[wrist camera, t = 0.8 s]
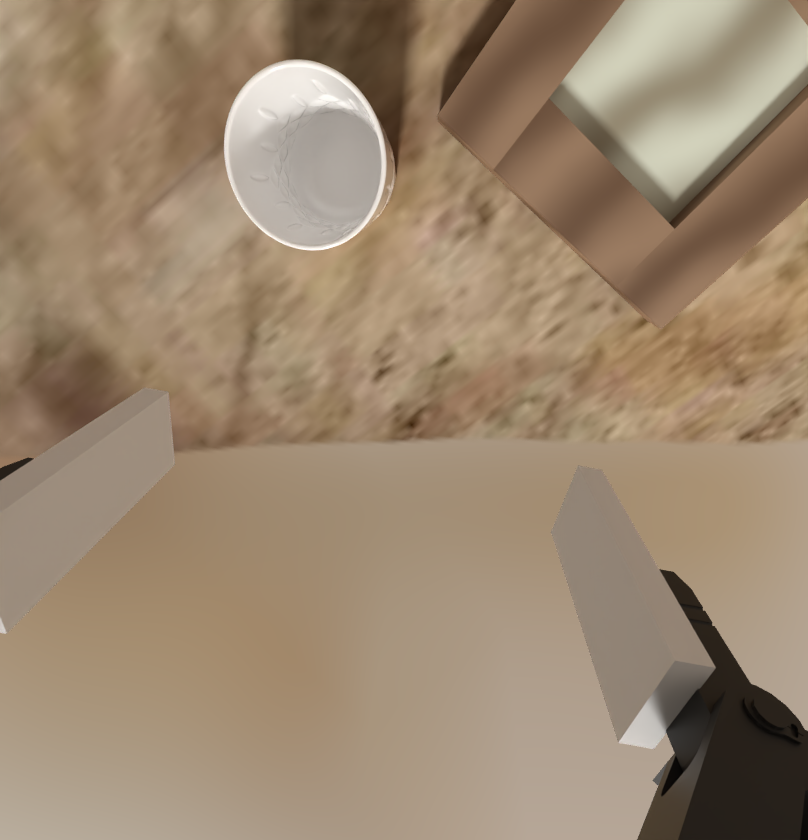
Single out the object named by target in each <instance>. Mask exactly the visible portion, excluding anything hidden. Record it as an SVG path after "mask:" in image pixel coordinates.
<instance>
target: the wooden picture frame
mask: <svg viewBox="0 0 808 840" xmlns="http://www.w3.org/2000/svg"><path fill="white" fill-rule="evenodd" d="M437 116H438V122H439V123H440V124H441V125H442V126H443V127H444V128H445V129H447V130H448V131H449V132H450V133H451V134H452V135H453V136H454V137H455V138H456V139H457V140H458V141H459V142H460V143H461V144H462V145H463V146H464V147H465V148H466V149H468V150H469V151H470V152H471V153H472V154H473V155H474V156H475V157H476V158H477V159H478V160H479V161H480V162H481V163H482V164H483V165H484V166H485V167H486V168H487V169H489V170H490V171H491V172H492V173H493V174H494V175H495V176H496V177H497V178H498V179H499V180H500V181H501V182H502V183H503V184H504V185H505V186H506V187H507V188H508V189H509V190H511V191H512V192H513V193H514V194H515V195H516V196H517V197H518V198H519V199H520V200H521V201H522V202H523V203H524V204H525V205H526V206H527V207H528V208H529V209H530V210H532V211H533V212H534V213H535V214H536V215H537V216H538V217H539V218H540V219H541V220H542V221H543V222H544V223H545V224H546V225H547V226H548V227H549V228H550V229H551V230H552V231H554V232H555V233H556V234H557V235H558V236H559V237H560V238H561V239H562V240H563V241H564V242H565V243H566V244H567V245H568V246H569V247H570V248H571V249H572V250H573V251H575V252H576V253H577V254H578V255H579V256H580V257H581V258H582V259H583V260H584V261H585V262H586V263H587V264H588V265H589V266H590V267H591V268H592V269H593V270H594V271H595V272H597V273H598V274H599V275H600V276H601V277H602V278H603V279H604V280H605V281H606V282H607V283H608V284H609V285H610V286H611V287H612V288H613V289H614V290H615V291H616V292H618V293H619V294H620V295H621V296H622V297H623V298H624V299H625V300H626V301H627V302H628V303H629V304H630V305H631V306H632V307H633V308H634V309H635V310H636V311H637V312H638V313H640V314H641V315H642V316H643V317H644V318H645V319H646V320H647V321H648V322H650V323H652V324H653V325H655V326H656V327H658V328H660V329H662V328H663V327H664V326H665V325H667V324H668V323H669V322H670V321H671V320H672V319H673V318H674V317H675V316H677V315H678V314H679V313H680V312H681V311H682V310H683V309H684V308H686V307H687V306H688V305H689V304H690V303H691V302H692V301H693V300H694V299H696V298H697V297H698V296H699V295H700V294H701V293H702V292H703V291H705V290H706V289H707V288H708V287H709V286H710V285H711V284H712V283H713V282H715V281H716V280H717V279H718V278H719V277H720V276H721V275H722V274H724V273H725V272H726V271H727V270H728V269H729V268H730V267H731V266H732V265H734V264H735V263H736V262H737V261H738V260H739V259H740V258H741V257H743V256H744V255H745V254H746V253H747V252H748V251H749V250H750V249H751V248H753V247H754V246H755V245H756V244H757V243H758V242H759V241H760V240H761V239H763V238H764V237H765V236H766V235H767V234H768V233H769V232H770V231H772V230H773V229H774V228H775V227H776V226H777V225H778V224H779V223H780V222H782V221H783V220H784V219H785V218H786V217H787V216H788V215H789V214H791V213H792V212H793V211H794V210H795V209H796V208H797V207H798V206H799V205H801V204H802V203H803V202H804V201H805V200H806V199H807V198H808V0H516V1H515V2H514V4H513V5H512V7H511V8H510V10H509V11H508V13H507V14H506V16H505V17H504V18H503V20H502V21H501V23H500V24H499V26H498V27H497V29H496V30H495V32H494V33H493V35H492V36H491V38H490V39H489V40H488V42H487V43H486V45H485V46H484V48H483V49H482V51H481V52H480V54H479V55H478V57H477V58H476V59H475V61H474V62H473V64H472V65H471V67H470V68H469V70H468V71H467V73H466V74H465V76H464V77H463V79H462V80H461V81H460V83H459V84H458V86H457V87H456V89H455V90H454V92H453V93H452V95H451V96H450V98H449V99H448V101H447V102H446V103H445V105H444V106H443V108H442V109H441V111H440V112H439V114H438V115H437Z"/></svg>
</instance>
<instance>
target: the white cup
mask: <svg viewBox="0 0 808 840" xmlns="http://www.w3.org/2000/svg"><path fill="white" fill-rule="evenodd" d="M224 156H225V164H226V169H227V174H228V177H229V181H230V184H231V186H232V189H233V191H234V194H235V196H236V198H237V200H238V202H239V203H240V205H241V207H242V208H243V210H244V211H245V213H246V214H247V215H248V216H249V218H250V219H251V220H252V221H253V222H254V223H255V224H256V225H257V226H258V227H259V228H260V229H261V230H262V231H263V232H265V233H266V234H267V235H269V236H270V237H272V238H273V239H275V240H277V241H278V242H280V243H283V244H285V245H287V246H290V247H294V248H297V249H303V250H323V249H328V248H332V247H335V246H338V245H340V244H342V243H344V242H346V241H348V240H349V239H351V238H352V237H354V236H355V235H356V234H358V233H359V232H361V231H362V230H364V229H365V228H366V227H368V226H369V225H370V224H371V223H372V222H373V221H374V220H375V219H376V218H377V217H378V216H379V215H380V214H381V213H382V211H383V210H384V208H385V206H386V205H387V204H388V203H389V201H390V199H391V195H392V191H393V187H394V184H395V180H396V171H395V163H394V156H393V151H392V148H391V145H390V142H389V140H388V138H387V135H386V133H385V130H384V128H383V126H382V124H381V123H380V121H379V119H378V118H377V116H376V114H375V112H374V111H373V109H372V107H371V105H370V104H369V102H368V101H367V99H366V98H365V96H364V95H363V94H362V92H361V91H360V90H359V89H358V88H357V87H356V86H355V85H354V84H353V83H352V82H351V81H350V80H349V79H348V78H347V77H345V76H344V75H343V74H341V73H340V72H338V71H336V70H335V69H333V68H331V67H329V66H327V65H324V64H321V63H318V62H315V61H310V60H301V59H294V60H285V61H281V62H277V63H274V64H272V65H270V66H268V67H266V68H264V69H262V70H261V71H259V72H258V73H256V74H255V75H254V76H253V77H252V78H251V79H250V80H249V81H248V82H247V83H246V84H245V85H244V86H243V88H242V89H241V90H240V92H239V93H238V95H237V97H236V98H235V100H234V102H233V105H232V107H231V109H230V112H229V115H228V119H227V123H226V128H225V136H224Z"/></svg>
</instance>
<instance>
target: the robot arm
mask: <svg viewBox="0 0 808 840" xmlns="http://www.w3.org/2000/svg"><path fill="white" fill-rule="evenodd" d="M174 465H175V461H174V449H173V438H172V427H171V416H170V405H169V394H168V392H166V391H161V390H155V389H149V388H143V389H141V390H140V391H138V392H137V393H135V394H134V395H132V396H131V397H129V398H127V399H126V400H124V401H123V402H121V403H120V404H118V405H117V406H115V407H114V408H112V409H110V410H109V411H107V412H106V413H104V414H103V415H101V416H100V417H98V418H97V419H95V420H93V421H92V422H90V423H89V424H87V425H86V426H84V427H83V428H81V429H80V430H78V431H76V432H75V433H73V434H72V435H70V436H69V437H67V438H66V439H64V440H62V441H61V442H59V443H58V444H56V445H55V446H53V447H52V448H50V449H49V450H47V451H45V452H44V453H42V454H41V455H39V456H38V457H36V458H35V459H33V458H26V459H23V460H20V461H18V462H16V463H12V464H10V465H7V466H4V467H2V468H0V633H6V634H7V633H8V632H9V631H10V630H11V629H12V628H13V627H14V626H15V625H16V624H17V623H18V622H19V621H20V620H21V619H22V618H23V617H24V616H25V615H26V614H27V613H28V612H29V611H30V610H31V609H32V608H33V607H34V606H35V605H36V604H37V603H38V602H39V601H40V600H41V599H42V598H43V597H44V596H45V595H46V594H47V593H48V592H49V591H50V590H51V589H52V588H53V587H54V586H55V584H57V583H58V582H59V581H60V580H61V579H62V578H63V576H65V575H66V574H67V573H68V572H69V571H70V569H72V568H73V567H74V566H75V565H76V563H77V562H79V561H80V560H81V558H83V557H84V556H85V554H86V553H88V551H90V549H91V548H92V547H93V546H94V545H95V544H96V543H97V542H98V541H99V540H100V539H101V538H102V537H103V536H104V535H105V534H106V533H107V532H108V531H109V530H110V529H111V528H112V527H113V526H114V525H115V524H116V523H117V522H118V521H119V520H120V519H121V518H122V517H123V516H124V515H125V514H126V513H127V512H128V511H129V510H130V509H131V508H132V507H133V506H134V505H135V504H136V503H137V502H138V501H139V500H140V499H141V498H142V497H143V496H144V495H145V494H146V493H147V492H148V491H149V490H150V489H151V488H152V487H153V486H154V485H155V484H156V483H157V482H158V481H159V480H160V479H161V478H162V477H163V476H164V475H165V474H166V473H167V472H168V471H169V470H170V469H171V468H172V467H173V466H174ZM551 533H552V536H553V539H554V542H555V545H556V549H557V552H558V555H559V558H560V561H561V564H562V567H563V570H564V574H565V577H566V580H567V583H568V586H569V589H570V593H571V596H572V599H573V602H574V605H575V608H576V611H577V615H578V618H579V621H580V624H581V627H582V630H583V633H584V637H585V639H586V643H587V646H588V649H589V652H590V655H591V658H592V662H593V665H594V668H595V671H596V674H597V677H598V680H599V684H600V687H601V690H602V693H603V696H604V699H605V702H606V706H607V709H608V712H609V715H610V718H611V721H612V724H613V727H614V731H615V734H616V737H617V740H618V743H623V744H629V745H634V746H640V747H645V748H651V749H654V748H655V747H656V746H657V744H658V743H659V742H660V740H661V739H662V738H663V737H664V735H665V734H666V733H667V735H668V738H669V740H670V742H671V745H672V747H673V750H674V752H675V754H674V755H673V756H672V757H671V758H670V760H669V761H668V762H667V763H666V765H665V766H664V767H663V768H662V770H661V771H660V772H659V773H658V775H657V776H656V777H655V778H654V779H653V781H654V782H655V783H656V784H657V785H659V786H658V788H657V791H656V793H655V796H654V798H653V801H652V804H651V806H650V809H649V811H648V814H647V816H646V819H645V821H644V824H643V826H642V829H641V832H640V834H639V836H638V839H637V840H808V731H806V730H805V729H804V728H803V726H802V724H801V722H800V721H799V720H798V718H797V717H796V716H795V715H794V714H793V713H792V712H791V711H790V709H789V708H788V707H787V706H786V705H785V704H783V703H782V702H781V701H779V700H778V699H777V698H776V697H774V696H773V695H772V694H770V693H769V692H767V691H765V690H763V689H761V688H759V687H757V686H755V685H752V684H751V683H750V682H749V680H748V679H747V677H746V675H745V674H744V672H743V671H742V669H741V667H740V666H739V664H738V663H737V661H736V659H735V658H734V656H733V655H732V653H731V651H730V650H729V648H728V647H727V645H726V644H725V642H724V640H723V639H722V637H721V636H720V634H719V632H718V631H717V629H716V628H715V626H712V621H711V620H710V618H709V616H708V615H707V613H706V612H705V611H703V607H702V605H701V604H700V602H699V601H698V599H697V597H696V596H695V594H694V593H693V591H692V589H691V588H690V587H689V586H688V585H687V584H686V583H684V582H683V581H682V580H681V579H680V578H679V577H678V576H677V575H676V574H675V573H674V572H671V571H666V570H660V569H659V568H658V566H657V565H656V563H655V561H654V559H653V558H652V556H651V554H650V552H649V551H648V549H647V547H646V545H645V544H644V542H643V540H642V538H641V537H640V535H639V533H638V532H637V530H636V528H635V527H634V525H633V523H632V521H631V519H630V518H629V516H628V514H627V513H626V511H625V509H624V507H623V505H622V504H621V502H620V500H619V499H618V497H617V495H616V494H615V492H614V490H613V488H612V486H611V485H610V483H609V481H608V479H607V478H606V476H605V474H604V472H603V471H602V470H601V469H595V468H589V467H583V466H578V467H577V470H576V472H575V474H574V477H573V480H572V482H571V484H570V487H569V489H568V492H567V494H566V497H565V499H564V502H563V504H562V506H561V509H560V511H559V514H558V516H557V519H556V521H555V524H554V526H553V529H552V531H551Z"/></svg>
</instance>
